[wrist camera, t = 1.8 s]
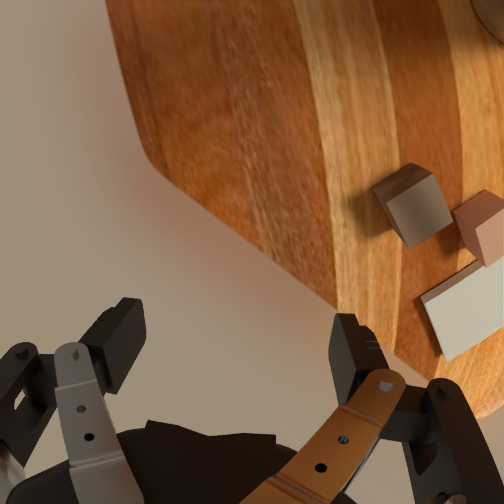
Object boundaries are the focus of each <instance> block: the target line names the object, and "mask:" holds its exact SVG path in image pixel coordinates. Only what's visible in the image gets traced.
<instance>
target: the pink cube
mask: <svg viewBox="0 0 504 504" xmlns="http://www.w3.org/2000/svg"><path fill="white" fill-rule="evenodd" d="M453 213H454V216H455V219H456V221H457V224H458V227H459V230H460V233H461V236H462V239H463V242H464V245H465V248H466V249H467V250H469V251H470V252H471V253H472V254H473V255H474V256H475V257H476V258H477V259H478V260H479V261H480V262H481V263H482V264H483V265H484V266H485V267H486V268H487V267H489V266H490V265H492V264H493V263H494V262H496V261H497V260H499V259H500V258H501V257H503V256H504V199H502V198H500V197H498V196H497V195H495V194H493V193H491V192H489V191H487V190H486V189H485V190H484V191H482V192H481V193H479V194H478V195H476V196H475V197H473V198H472V199H470V200H469V201H467V202H466V203H465V204H463V205H462V206H460V207H458V208H457V209H455V210H454V211H453Z"/></svg>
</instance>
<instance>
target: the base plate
mask: <svg viewBox="0 0 504 504" xmlns="http://www.w3.org/2000/svg"><path fill="white" fill-rule="evenodd" d="M421 300H422V302H423V304H424V307H425V309H426V312H427V314H428V316H429V319H430V321H431V324H432V326H433V329H434V332H435V334H436V337H437V339H438V342H439V345H440V348H441V350H442V353H443V356H444V358H445V360H446V362H448V361H450V360H451V359H453V358H455V357H456V356H458V355H460V354H461V353H463V352H465V351H466V350H468V349H470V348H471V347H473V346H474V345H476V344H477V343H479V342H481V341H482V340H484V339H485V338H487V337H488V336H490V335H491V334H493V333H494V332H496V331H497V330H498V329H500V328H501V327H503V326H504V256H503V257H501V258H500V259H499V260H497V261H496V262H494V263H493V264H492V265H490V266H489V267H487V268H486V267H485V266H484V265H483V264H482V263H481V262H480V261H479V260H477V261H475V262H474V263H473V264H471V265H470V266H468V267H467V268H465V269H464V270H462V271H461V272H459V273H457V274H456V275H454V276H453V277H451V278H450V279H448V280H447V281H445V282H443V283H442V284H440V285H439V286H437V287H435V288H434V289H432V290H430V291H429V292H427V293H426V294H424V295H422V296H421Z"/></svg>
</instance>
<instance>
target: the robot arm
mask: <svg viewBox="0 0 504 504" xmlns="http://www.w3.org/2000/svg"><path fill="white" fill-rule="evenodd" d="M471 1H472V4H473V6H474V9H475V11H476V13H477V15H478V17H479V19H480V20H481V22H482V23H483V24H484V26H485V27H486V28H487V29H488V31H489V32H490V33H491V34H492V35H493V36H494V37H496V38H497V39H498V40H499V41H501V42H502V43H504V0H471ZM145 340H146V325H145V318H144V311H143V304H142V301H141V299H135V298H127V297H124V298H122V299H121V301H120V302H119V303H118V304H117V305H116V307H111V308H109V309H108V310H106V311H104V312H103V313H102V314H101V315H100V316H99V317H98V319H97V321H95V322H94V323H93V325H92V326H91V327H90V328H89V329H88V330H87V332H86V333H85V334H84V335H83V336H82V338H81V339H80V340H79V341H78V342H71V343H66V344H64V345H62V346H60V347H59V348H58V349H57V350H56V351H55V353H54V354H39V353H38V351H37V347H36V346H35V345H34V344H33V343H30V342H23V343H19V344H16V345H14V346H13V347H12V348H10V349H9V350H8V352H7V353H6V354H5V355H4V356H3V357H2V358H1V359H0V504H357V503H356V502H355V501H353V500H352V499H351V498H350V497H349V496H348V495H347V494H345V492H346V491H347V489H348V488H349V487H350V485H351V484H352V482H353V481H354V479H355V478H356V476H357V475H358V473H359V472H360V470H361V469H362V467H363V466H364V464H365V463H366V461H367V459H368V458H369V456H370V455H371V453H372V452H373V450H374V448H375V447H376V445H377V443H378V442H379V440H380V439H386V440H392V441H398V442H402V446H403V451H404V454H405V459H406V463H407V467H408V472H409V476H410V480H411V486H412V490H413V495H414V500H415V504H504V485H503V483H502V480H501V477H500V474H499V472H498V470H497V467H496V464H495V462H494V459H493V457H492V454H491V452H490V450H489V447H488V445H487V443H486V441H485V438H484V436H483V434H482V432H481V429H480V427H479V425H478V423H477V421H476V419H475V417H474V415H473V412H472V410H471V408H470V406H469V404H468V402H467V400H466V398H465V396H464V394H463V392H462V390H461V389H460V387H459V386H458V385H457V384H456V383H455V382H453V381H451V380H449V379H446V378H436V379H433V380H431V381H430V382H429V384H428V386H427V388H422V387H416V386H410V385H407V384H406V382H405V380H404V378H403V377H402V376H401V375H400V374H399V373H397V372H396V371H393V370H390V368H389V366H388V363H387V361H386V359H385V357H384V354H383V352H382V350H381V349H380V345H379V343H378V342H377V339H376V337H375V334H374V333H373V332H372V331H371V330H370V329H369V328H368V327H367V326H359V323H358V321H357V318H356V316H355V314H347V313H337V314H336V315H335V318H334V323H333V329H332V333H331V338H330V343H329V352H328V354H329V362H330V366H331V371H332V376H333V380H334V385H335V389H336V394H337V400H338V404H339V406H338V408H337V409H336V410H335V411H334V412H333V414H332V415H331V416H330V417H329V418H328V419H327V421H326V422H325V423H324V424H323V425H322V426H321V428H320V429H319V430H318V431H317V432H316V433H315V435H313V437H312V438H311V439H310V440H309V441H308V442H307V443H306V444H305V445H304V446H303V447H302V448H301V450H300V451H299V452H297V451H295V450H293V449H291V448H289V447H286V446H283V445H280V444H276V435H272V434H271V435H270V434H253V433H238V434H229V435H218V436H206V435H204V434H201V433H198V432H195V431H192V430H189V429H187V428H184V427H181V426H179V425H174V424H168V423H162V422H156V421H151V420H148V421H147V423H146V426H145V428H140V429H132V430H127V431H124V432H121V433H118V434H117V433H116V430H115V428H114V425H113V422H112V420H111V417H110V414H109V412H108V409H107V406H106V403H105V400H104V398H103V397H104V395H105V393H106V392H107V393H111V394H117V393H118V391H119V389H120V387H121V385H122V383H123V381H124V380H125V378H126V376H127V374H128V372H129V370H130V369H131V367H132V365H133V363H134V361H135V360H136V358H137V356H138V354H139V352H140V351H141V349H142V347H143V345H144V343H145ZM21 390H23V392H24V394H25V397H24V398H23V400H22V401H21V403H20V404H19V406H18V407H17V409H16V410H15V409H14V402H15V399H16V398H17V396H18V395H19V393H20V392H21ZM57 407H58V413H59V418H60V423H61V428H62V433H63V437H64V442H65V446H66V450H67V454H68V458H69V459H68V460H66V461H64V462H62V463H60V464H58V465H56V466H53V467H51V468H49V469H47V470H45V471H43V472H41V473H38V474H36V475H34V476H32V477H30V478H28V479H25V472H24V467H25V465H26V463H27V461H28V459H29V457H30V455H31V453H32V452H33V449H34V447H35V446H36V444H37V442H38V440H39V438H40V437H41V435H42V433H43V431H44V429H45V427H46V426H47V424H48V422H49V420H50V418H51V417H52V415H53V413H54V411H55V410H56V408H57Z"/></svg>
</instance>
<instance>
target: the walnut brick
mask: <svg viewBox="0 0 504 504" xmlns="http://www.w3.org/2000/svg"><path fill="white" fill-rule="evenodd" d="M372 190H373V192H374V194H375V196H376V197H377V199H378V201H379V203H380V205H381V207H382V208H383V210H384V212H385V214H386V216H387V218H388V220H389V222H390V224H391V226H392V228H393V229H394V231H395V232H396V233H397V234H398V236H399V237H400V238H401V239H402V241H403V242H404V243H405V245H406V246H407V247H408V248H409V249H411V248H413V247H414V246H416V245H418V244H419V243H421V242H422V241H424V240H426V239H427V238H429V237H430V236H432V235H433V234H435V233H437V232H438V231H440V230H441V229H443V228H444V227H446V226H447V225H449V224H450V223H452V222H453V219H452V217H451V214H450V212H449V209H448V207H447V204H446V202H445V199H444V197H443V194H442V192H441V190H440V187H439V185H438V183H437V180H436V178H435V176H434V174H433V173H432V172H430V171H428V170H426V169H424V168H422V167H420V166H418V165H416V164H414V163H411V164H410V165H408V166H406V167H405V168H403V169H401V170H400V171H398V172H397V173H395V174H393V175H392V176H390V177H388V178H387V179H385V180H384V181H382V182H380V183H379V184H377V185H375V186H374V187H372Z"/></svg>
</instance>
